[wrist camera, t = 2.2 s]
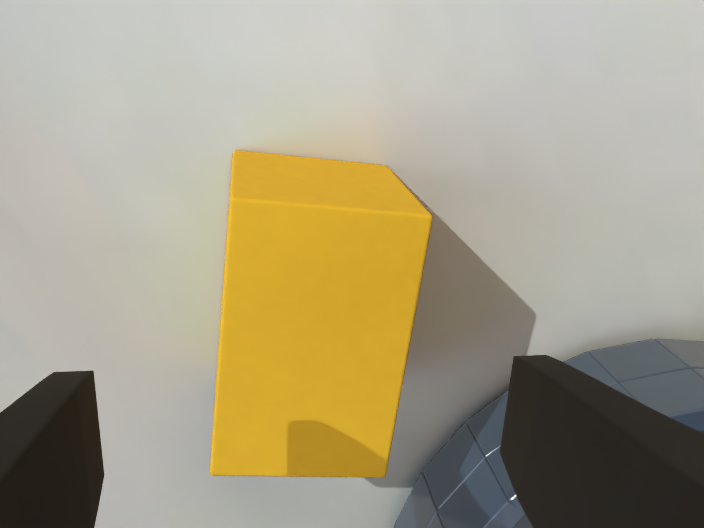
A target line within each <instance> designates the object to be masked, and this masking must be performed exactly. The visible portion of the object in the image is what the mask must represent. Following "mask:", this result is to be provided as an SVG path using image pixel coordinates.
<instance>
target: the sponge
mask: <svg viewBox="0 0 704 528" xmlns="http://www.w3.org/2000/svg"><path fill="white" fill-rule="evenodd" d="M431 224H432V215H431V214H430V213H429V212H428V210H427V209H426V208H425V207H424V206H423V205H422V204H421V203H420V202H419V201H418V199H417V198H416V197H415V196H414V195H413V194H412V193H411V192H410V191H409V189H408V188H407V187H406V186H405V185H404V184H403V183H402V182H401V181H400V180H399V178H398V177H397V176H396V175H395V174H394V173H393V172H392V171H391V170H390V169H389V167H388V166H386V165H377V164H367V163H357V162H347V161H338V160H328V159H318V158H308V157H298V156H288V155H279V154H269V153H259V152H249V151H239V150H235V151H234V152H233V156H232V170H231V183H230V197H229V211H228V224H227V238H226V252H225V266H224V279H223V293H222V307H221V320H220V334H219V348H218V362H217V375H216V390H215V405H214V419H213V434H212V448H211V463H210V473H211V475H213V476H287V477H381V478H383V477H385V476H386V471H387V466H388V460H389V455H390V449H391V444H392V438H393V433H394V427H395V422H396V416H397V411H398V405H399V400H400V394H401V389H402V383H403V378H404V372H405V367H406V361H407V356H408V350H409V345H410V339H411V334H412V328H413V323H414V317H415V312H416V306H417V301H418V295H419V290H420V284H421V279H422V273H423V268H424V262H425V257H426V251H427V246H428V240H429V235H430V229H431Z"/></svg>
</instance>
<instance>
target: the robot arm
mask: <svg viewBox="0 0 704 528" xmlns="http://www.w3.org/2000/svg"><path fill="white" fill-rule="evenodd" d="M500 454H501V457H502V460H503V463H504V465H505V468H506V471H507V473H508V476H509V479H510V481H511V484H512V486H513V489H514V491H515V494H516V496H517V499H518V501H519V503H520V505H521V507H522V509H523V511H524V512H525V514H526V516H527V518H528V520H529V522H530V523H531V525H532V527H533V528H704V433H701V432H699V431H697V430H695V429H693V428H691V427H689V426H687V425H684V424H682V423H680V422H678V421H676V420H674V419H672V418H670V417H668V416H666V415H664V414H662V413H660V412H658V411H656V410H654V409H652V408H650V407H648V406H646V405H644V404H642V403H640V402H638V401H636V400H635V399H633V398H631V397H629V396H627V395H625V394H623V393H621V392H619V391H618V390H616V389H614V388H612V387H610V386H608V385H606V384H604V383H603V382H601V381H599V380H597V379H595V378H593V377H591V376H589V375H588V374H586V373H584V372H582V371H580V370H578V369H576V368H574V367H572V366H570V365H568V364H566V363H564V362H562V361H559V360H557V359H555V358H552V357H550V356H547V355H534V356H514V359H513V365H512V372H511V379H510V386H509V392H508V399H507V406H506V412H505V419H504V426H503V432H502V439H501V446H500ZM103 478H104V469H103V459H102V449H101V440H100V430H99V420H98V411H97V401H96V391H95V382H94V372H93V371H74V372H54V373H52V374H51V375H49V376H48V377H46V378H45V379H43V380H42V381H41V382H39V383H38V384H37V385H35V386H34V387H33V388H32V389H30V390H29V391H28V392H26V393H25V394H24V395H23V396H21V397H20V398H19V399H18V400H16V401H15V402H14V403H12V404H11V405H10V406H9V407H7V408H6V409H5V410H3V411H2V412H1V413H0V528H94V526H95V521H96V516H97V511H98V506H99V500H100V495H101V489H102V484H103Z"/></svg>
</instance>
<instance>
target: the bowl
mask: <svg viewBox="0 0 704 528" xmlns="http://www.w3.org/2000/svg"><path fill="white" fill-rule="evenodd" d="M564 363H566V364H568V365H570V366H572V367H574V368H576V369H578V370H580V371H582V372H584V373H586V374H588V375H589V376H591V377H593V378H595V379H597V380H599V381H601V382H603V383H604V384H606V385H608V386H610V387H612V388H614V389H616V390H618V391H619V392H621V393H623V394H625V395H627V396H629V397H631V398H633V399H635V400H636V401H638V402H640V403H642V404H644V405H646V406H648V407H650V408H652V409H654V410H656V411H658V412H660V413H662V414H664V415H666V416H668V417H670V418H672V419H674V420H676V421H678V422H680V423H682V424H684V425H687V426H689V427H691V428H693V429H695V430H697V431H699V432H701V433H704V341H690V340H672V339H648V340H643V341H638V342H633V343H628V344H623V345H618V346H612V347H607V348H602V349H597V350H592V351H588V352H585V353H582V354H580V355H578V356H576V357H573V358H571V359H569V360H566V361H564ZM508 392H509V390H508V391H507V392H505V393H504V394H503V395H501V396H500V397H498V398H497V399H496V400H494V401H493V402H492V403H490V404H489V405H487V406H486V407H485V408H483V409H482V410H481V411H479V412H478V413H476V414H475V415H474V416H472V417H471V418H470V419H468V420H467V423H464V424H463V425H462V426H461V428H460V429H459V430H458V431H457V432H456V433H455V434H454V436H453V437H452V438H451V439H450V440H449V441H448V442H447V443H446V445H445V446H444V447H443V448H442V449H441V450H440V451H439V453H438V454H437V455H436V456H435V457H434V458H433V459H432V460H431V462H430V463H429V464H428V465H427V466H426V467H425V468H424V470H423V472H421V474H420V476H419V478H418V480H417V482H416V484H415V485H414V487H413V489H412V491H411V493H410V495H409V497H408V499H407V501H406V503H405V505H404V507H403V509H402V511H401V513H400V515H399V516H398V518H397V520H396V522H395V525H394V528H533V527H532V525H531V523H530V522H529V520H528V518H527V516H526V514H525V512H524V511H523V509H522V507H521V505H520V503H519V501H518V499H517V496H516V494H515V491H514V489H513V486H512V484H511V481H510V479H509V476H508V473H507V471H506V468H505V465H504V463H503V460H502V457H501V454H500V446H501V439H502V432H503V426H504V419H505V412H506V406H507V399H508Z"/></svg>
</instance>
